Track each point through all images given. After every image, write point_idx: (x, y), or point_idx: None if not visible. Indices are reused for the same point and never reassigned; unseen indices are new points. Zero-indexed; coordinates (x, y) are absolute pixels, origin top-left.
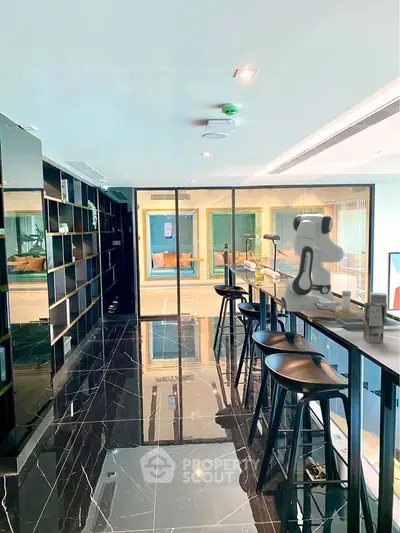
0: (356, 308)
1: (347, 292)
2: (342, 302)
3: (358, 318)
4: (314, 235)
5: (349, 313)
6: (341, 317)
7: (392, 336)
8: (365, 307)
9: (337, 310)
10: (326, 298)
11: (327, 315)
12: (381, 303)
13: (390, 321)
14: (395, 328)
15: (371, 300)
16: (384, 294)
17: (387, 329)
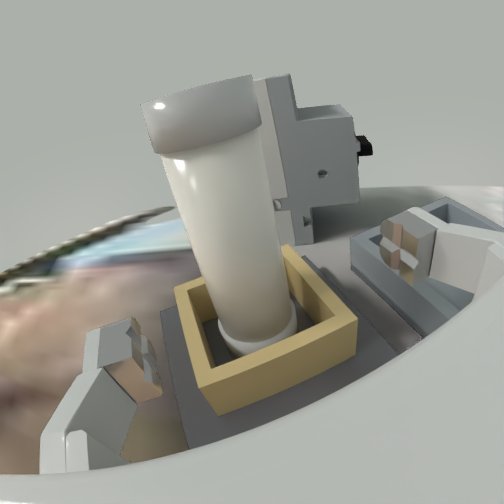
0: (13, 297)
1: (252, 78)
2: (241, 240)
3: (377, 246)
4: None
5: (317, 277)
6: (345, 353)
7: (492, 190)
8: None
9: (202, 368)
10: (72, 417)
11: None
12: (329, 108)
13: None
14: (372, 187)
15: (294, 112)
16: None
17: (408, 198)
